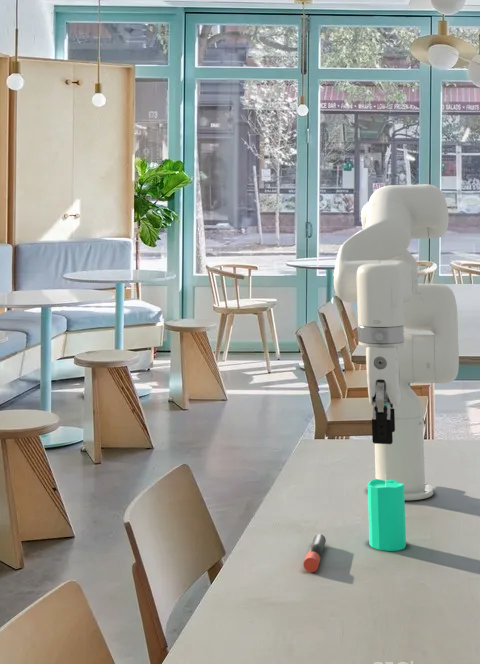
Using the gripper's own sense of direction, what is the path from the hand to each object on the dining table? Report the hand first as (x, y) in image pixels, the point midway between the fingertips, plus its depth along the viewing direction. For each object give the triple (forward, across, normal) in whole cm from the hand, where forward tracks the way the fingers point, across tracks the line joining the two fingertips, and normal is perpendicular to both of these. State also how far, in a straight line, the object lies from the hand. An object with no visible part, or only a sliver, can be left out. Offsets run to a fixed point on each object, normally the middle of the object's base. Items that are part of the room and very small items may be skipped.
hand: (384, 437), depth 173 cm
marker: (+18, -8, +11) cm, 23 cm away
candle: (+18, +1, 0) cm, 19 cm away
